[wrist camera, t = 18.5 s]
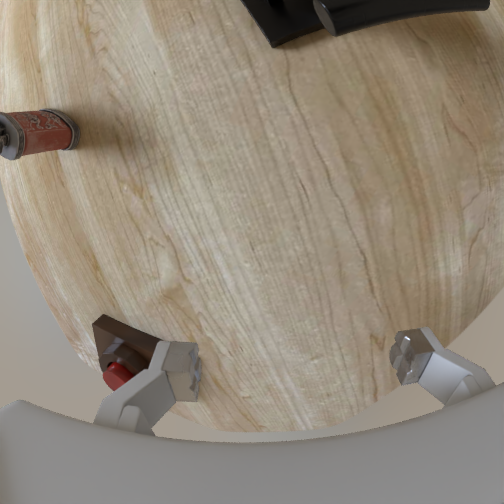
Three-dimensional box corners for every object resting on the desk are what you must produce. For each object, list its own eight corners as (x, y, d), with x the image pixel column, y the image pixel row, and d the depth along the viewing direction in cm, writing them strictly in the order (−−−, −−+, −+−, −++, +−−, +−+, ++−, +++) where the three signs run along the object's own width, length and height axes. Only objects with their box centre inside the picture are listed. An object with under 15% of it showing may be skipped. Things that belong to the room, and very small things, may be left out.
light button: (136, 370, 25) (128, 381, 24) (139, 390, 27) (132, 401, 25) (109, 357, 26) (100, 366, 24) (113, 377, 27) (105, 387, 26)
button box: (179, 346, 27) (161, 371, 24) (177, 391, 30) (164, 414, 27) (103, 313, 29) (82, 332, 25) (110, 360, 32) (94, 379, 28)
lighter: (36, 131, 22) (-35, 143, 13) (44, 103, 21) (-29, 108, 12) (74, 156, 22) (-10, 175, 13) (83, 124, 21) (-4, 133, 12)
